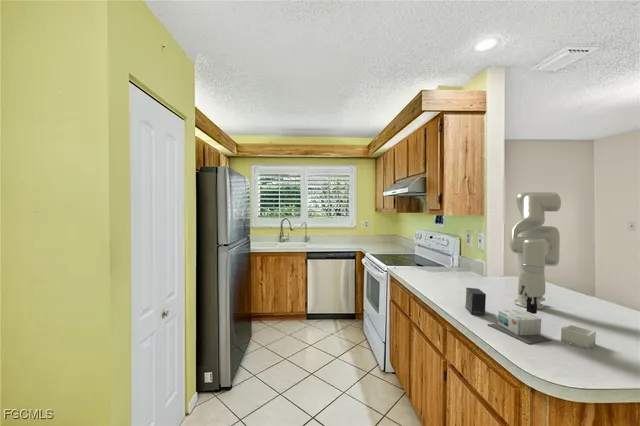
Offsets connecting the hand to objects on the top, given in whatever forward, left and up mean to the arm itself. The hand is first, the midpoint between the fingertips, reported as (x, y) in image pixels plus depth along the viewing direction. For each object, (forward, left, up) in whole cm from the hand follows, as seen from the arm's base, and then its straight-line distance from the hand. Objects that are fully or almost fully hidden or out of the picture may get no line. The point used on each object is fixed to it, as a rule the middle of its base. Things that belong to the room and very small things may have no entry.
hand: (531, 312), depth 121 cm
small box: (+5, -24, -8) cm, 26 cm away
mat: (+7, 0, -8) cm, 11 cm away
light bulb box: (0, 0, -4) cm, 4 cm away
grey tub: (-7, +13, -8) cm, 17 cm away
